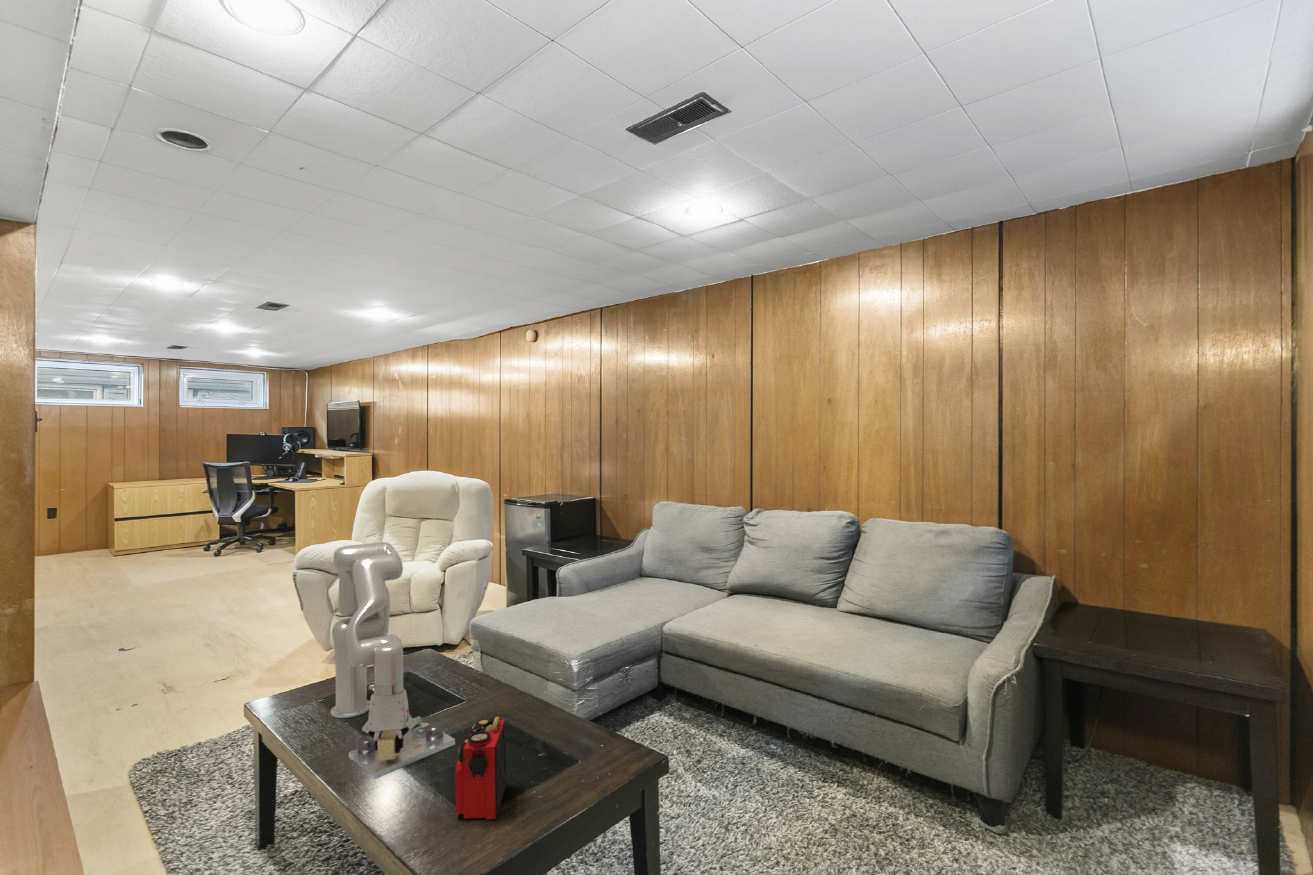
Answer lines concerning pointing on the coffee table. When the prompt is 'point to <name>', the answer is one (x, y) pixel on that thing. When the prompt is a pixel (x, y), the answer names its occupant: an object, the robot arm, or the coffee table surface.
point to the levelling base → (415, 747)
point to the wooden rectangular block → (387, 745)
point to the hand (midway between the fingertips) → (389, 750)
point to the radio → (482, 770)
